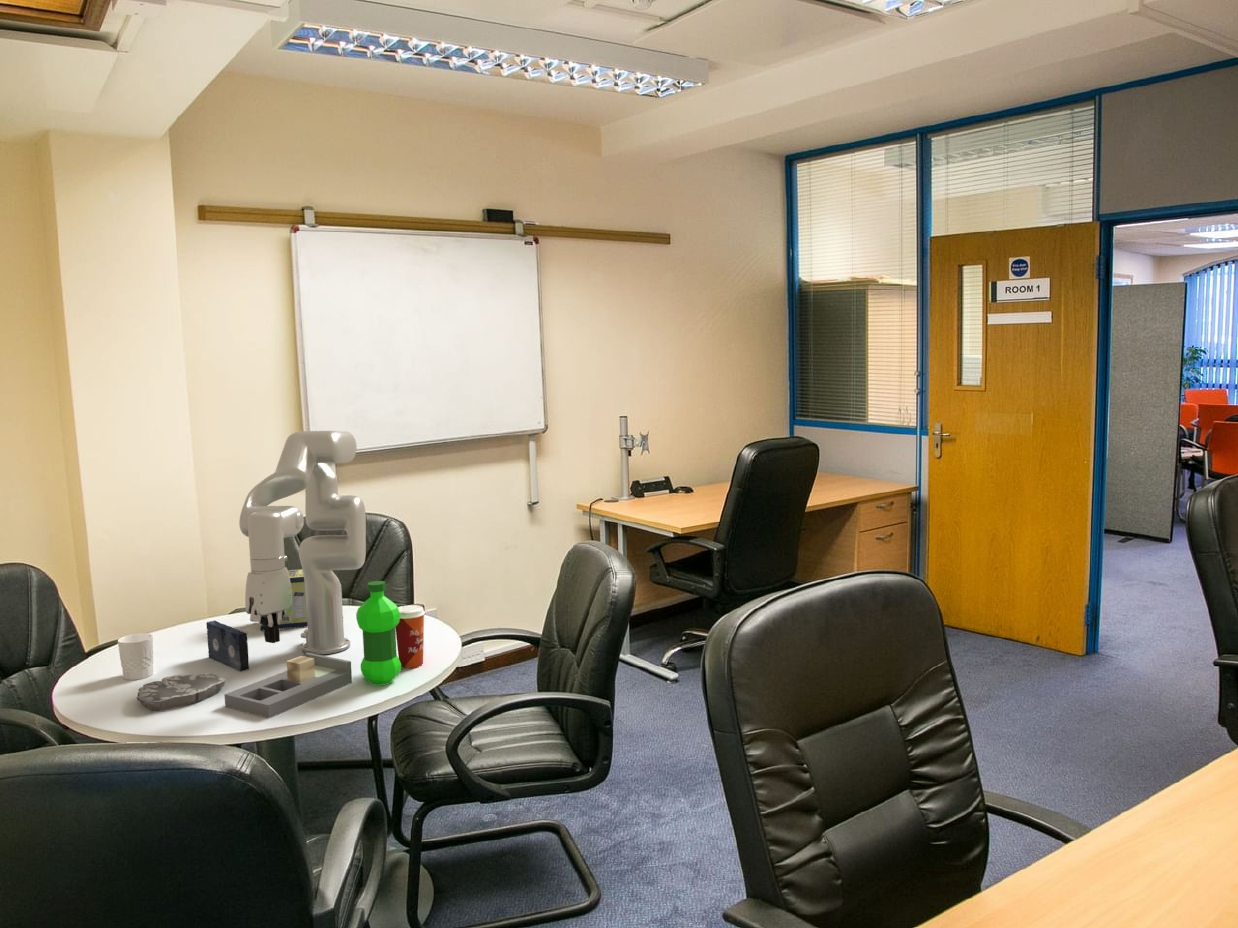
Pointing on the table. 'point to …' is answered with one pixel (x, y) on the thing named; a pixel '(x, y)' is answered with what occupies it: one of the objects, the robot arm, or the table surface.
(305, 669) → the birch block
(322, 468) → the robot arm
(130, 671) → the white cup
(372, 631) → the plastic bottle
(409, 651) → the coffee cup
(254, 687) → the box
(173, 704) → the brain slice
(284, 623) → the protein box
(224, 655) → the vhs cassette tape
